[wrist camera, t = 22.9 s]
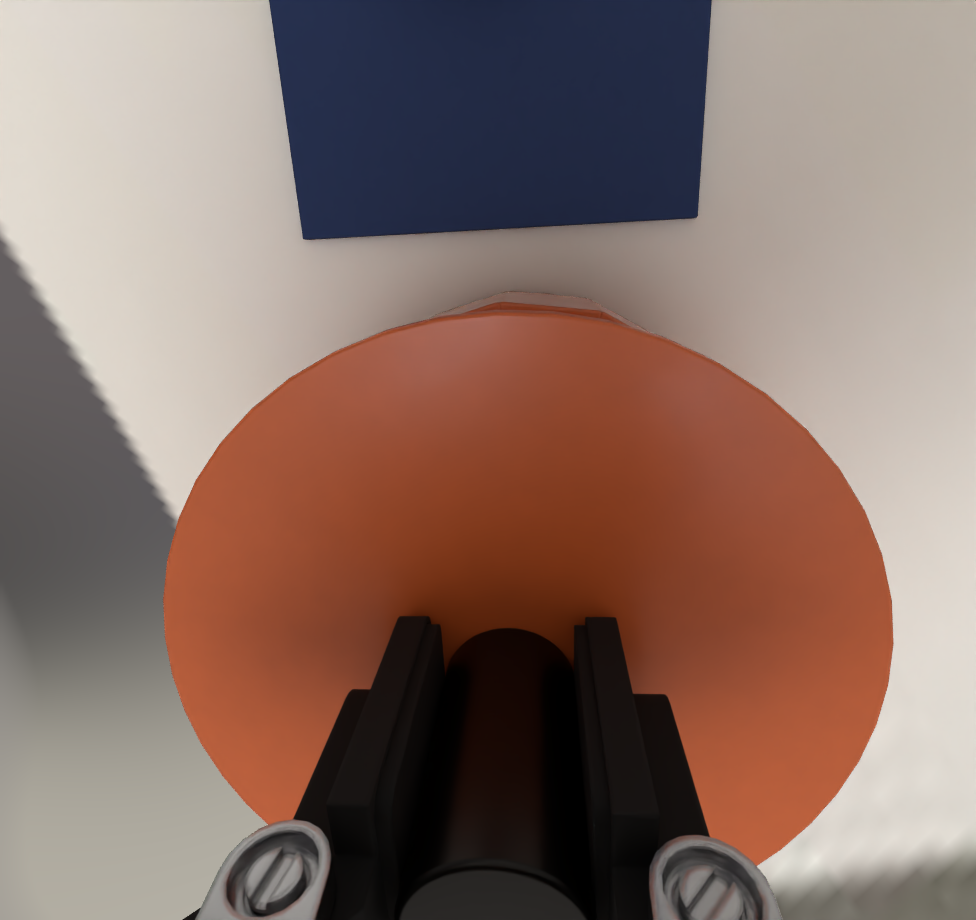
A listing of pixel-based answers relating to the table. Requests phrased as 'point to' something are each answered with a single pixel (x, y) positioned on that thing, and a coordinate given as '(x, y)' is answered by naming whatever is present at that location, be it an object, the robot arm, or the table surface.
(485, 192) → the towel
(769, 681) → the pot lid
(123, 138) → the table surface
